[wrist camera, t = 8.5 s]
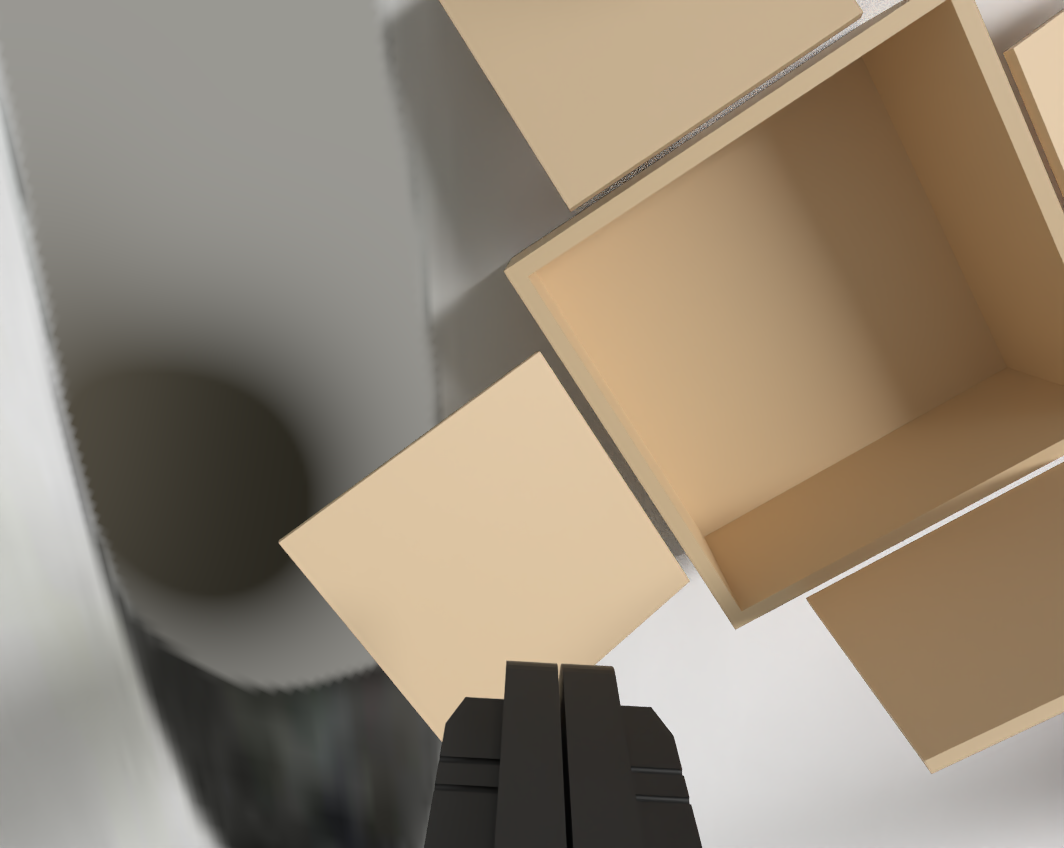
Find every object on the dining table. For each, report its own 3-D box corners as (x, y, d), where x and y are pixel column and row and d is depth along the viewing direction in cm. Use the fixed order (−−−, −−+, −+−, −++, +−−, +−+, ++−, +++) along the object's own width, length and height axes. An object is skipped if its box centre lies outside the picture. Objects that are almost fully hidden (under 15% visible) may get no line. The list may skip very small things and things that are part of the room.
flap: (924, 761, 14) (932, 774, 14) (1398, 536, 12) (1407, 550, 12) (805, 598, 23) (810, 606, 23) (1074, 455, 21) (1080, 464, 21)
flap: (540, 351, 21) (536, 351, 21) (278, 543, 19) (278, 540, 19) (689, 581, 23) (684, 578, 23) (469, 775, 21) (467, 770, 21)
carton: (367, 33, 24) (312, -24, 18) (1007, -456, 20) (1194, -722, 14) (698, 549, 29) (736, 631, 24) (1252, 241, 26) (1458, 249, 20)
